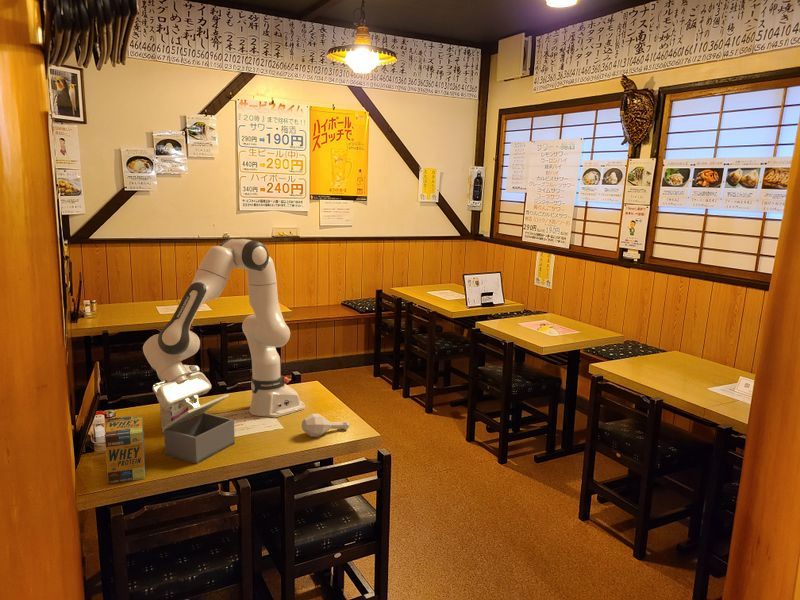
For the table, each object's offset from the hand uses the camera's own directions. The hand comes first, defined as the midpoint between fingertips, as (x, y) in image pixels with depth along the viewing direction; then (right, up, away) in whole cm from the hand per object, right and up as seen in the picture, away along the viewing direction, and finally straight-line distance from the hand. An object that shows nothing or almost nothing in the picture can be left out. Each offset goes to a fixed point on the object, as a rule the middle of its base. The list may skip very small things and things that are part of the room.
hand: (196, 409), depth 199 cm
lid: (0, -1, 0) cm, 1 cm away
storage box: (+1, -14, +2) cm, 14 cm away
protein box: (-17, -17, -14) cm, 28 cm away
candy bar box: (-15, -11, +19) cm, 27 cm away
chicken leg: (+42, -13, +18) cm, 47 cm away
